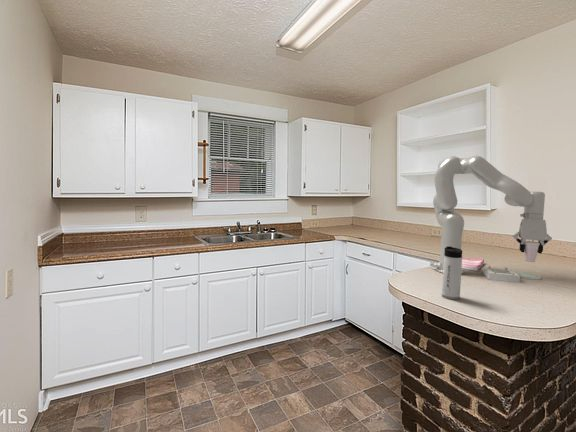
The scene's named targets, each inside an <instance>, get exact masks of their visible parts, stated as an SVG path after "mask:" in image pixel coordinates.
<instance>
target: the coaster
mask: <svg viewBox="0 0 576 432" xmlns="http://www.w3.org/2000/svg"><path fill="white" fill-rule="evenodd" d="M516 273H517V274H518V275H519V276H520V278H523V279H527V280H528V279H529V280H542V278H543V277H542V276H541V275H539V274H536V273H530V272H516Z"/></svg>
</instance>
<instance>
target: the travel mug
mask: <svg viewBox="0 0 576 432" xmlns="http://www.w3.org/2000/svg"><path fill="white" fill-rule="evenodd" d="M444 253H445V254H444V267H443V273H442V288H441V289H442V291H441V292H442V293H441V295H442V298H444V299H447V300H451V299H452V301H457V300H460V298H461V282H462V274H461V270H462V269H461V268H462V258H463V250H462V248H461V249H458V248H454V247H451V246H447V247H446V248H445V252H444Z"/></svg>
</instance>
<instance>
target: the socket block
mask: <svg viewBox="0 0 576 432" xmlns="http://www.w3.org/2000/svg"><path fill="white" fill-rule="evenodd" d="M482 267H483V266H482ZM517 273H518V272H515V271H514V270H513V269H509V268H507V267H504V268H497V267H496V268H495V267H492V266H488V267H486V266H485V267H483V270H482V274H483V275H484V276H485V277H486V278H487V279H488V280H490V281H491V280H492V281H500V282H509V283H510V282H511V283H520V278H521V277H520V276H519V275H518V274H517Z"/></svg>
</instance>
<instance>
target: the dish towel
mask: <svg viewBox="0 0 576 432" xmlns="http://www.w3.org/2000/svg"><path fill="white" fill-rule="evenodd" d="M484 263H485V259H484V258H479V259H477V258H473V259H471V258H463V257H462V268H461V270H466V271H471V272H472V271H473V272H478V270H479V269H480V268H481V267H483V266H484Z"/></svg>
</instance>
